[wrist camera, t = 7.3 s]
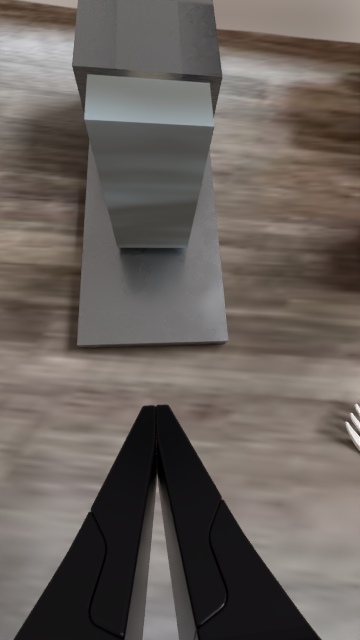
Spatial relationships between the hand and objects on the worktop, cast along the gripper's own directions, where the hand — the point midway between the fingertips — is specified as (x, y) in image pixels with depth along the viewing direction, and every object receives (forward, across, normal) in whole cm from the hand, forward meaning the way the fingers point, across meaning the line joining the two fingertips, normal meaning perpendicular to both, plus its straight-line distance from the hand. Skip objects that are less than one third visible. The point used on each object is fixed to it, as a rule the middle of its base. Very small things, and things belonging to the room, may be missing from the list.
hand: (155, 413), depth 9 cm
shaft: (+19, 0, -8) cm, 20 cm away
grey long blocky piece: (+18, 0, -5) cm, 18 cm away
